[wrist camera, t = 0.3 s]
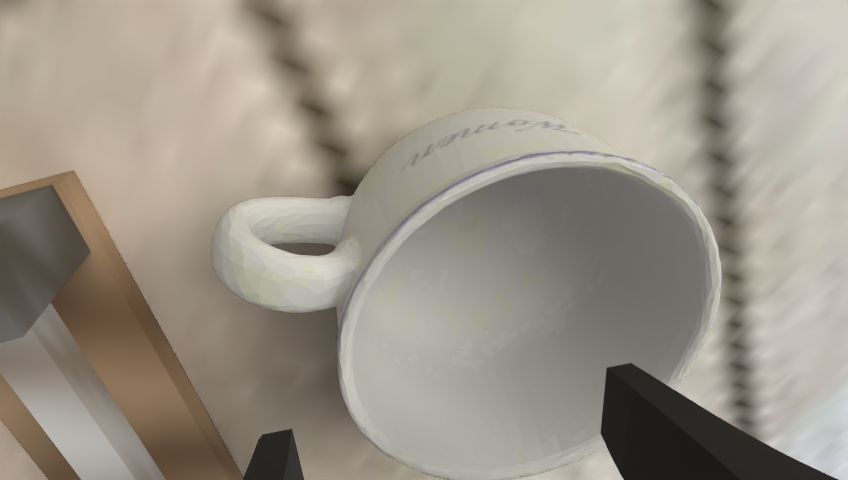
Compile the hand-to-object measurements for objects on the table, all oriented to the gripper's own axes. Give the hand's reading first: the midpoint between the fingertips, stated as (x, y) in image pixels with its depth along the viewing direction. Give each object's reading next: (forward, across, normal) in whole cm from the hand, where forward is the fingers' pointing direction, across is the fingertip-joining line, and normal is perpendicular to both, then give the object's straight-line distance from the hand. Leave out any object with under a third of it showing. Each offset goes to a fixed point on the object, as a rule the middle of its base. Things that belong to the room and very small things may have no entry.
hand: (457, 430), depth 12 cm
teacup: (+10, -2, -1) cm, 10 cm away
